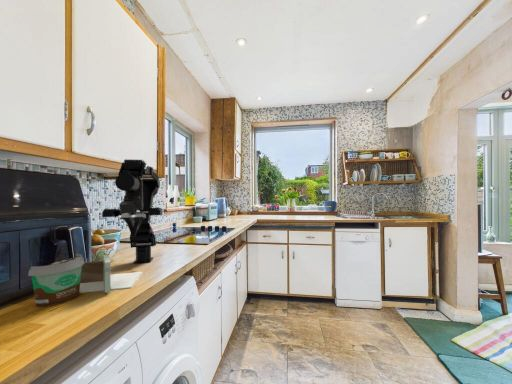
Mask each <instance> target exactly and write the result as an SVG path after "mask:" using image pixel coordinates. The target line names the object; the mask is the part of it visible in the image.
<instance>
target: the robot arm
mask: <svg viewBox="0 0 512 384" xmlns="http://www.w3.org/2000/svg"><path fill="white" fill-rule="evenodd" d="M117 175H118V176H116V179H115V181H114V183H115V186H116V188H117V189H119V190H120V191H122V192H123V191H124V196H123V200H122V201H121V202H120V203H119V206H118V207H119V209H118V208H105V209H103V210H102V213H101V218H112V217H113V218H115V217H117V218H119V216H121V217H120V220H124V222H125V223H126V225H127V227H128V229H129V232H130V234H129V242H130V248H135V260H133V262H132V263H133V264H143V263H151V262H152V260H153V259H154V257H153V256H152V247H156V246H157V245H156V244H157V239H156V234H155V233H154V231H153V228H152V226H151V218H152V216H163V208H161V207H153V202H154V198H155V196H156V195H158V193H159V189H160V187H161V182H160V177H159V175H158V174H157V173H156V172H155V171H154V167H153V166H149V165H147V163H146V162H145V160H144V159H127V158H126V159H124V160H123V162H122V163H121V165H120V168H119V172H118V174H117ZM145 176H151V178H142V177H145Z"/></svg>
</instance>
